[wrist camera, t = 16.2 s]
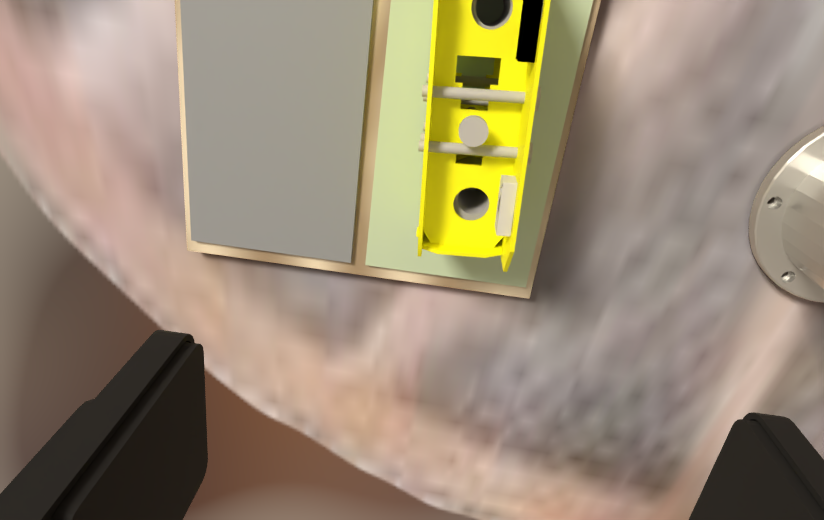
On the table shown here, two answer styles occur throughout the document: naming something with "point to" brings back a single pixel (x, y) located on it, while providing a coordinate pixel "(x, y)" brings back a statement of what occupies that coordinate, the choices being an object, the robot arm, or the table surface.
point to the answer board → (346, 134)
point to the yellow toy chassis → (479, 128)
